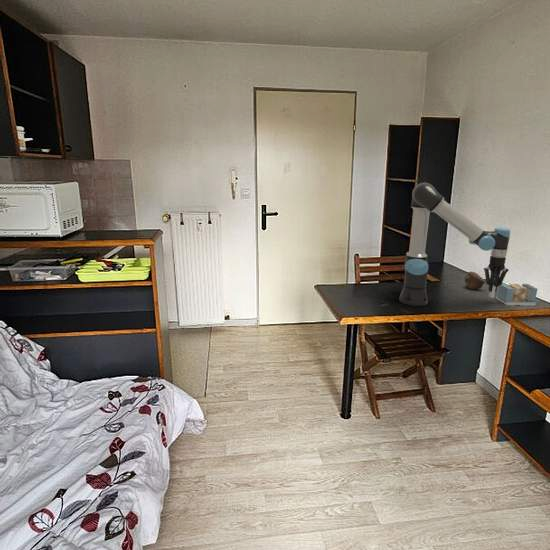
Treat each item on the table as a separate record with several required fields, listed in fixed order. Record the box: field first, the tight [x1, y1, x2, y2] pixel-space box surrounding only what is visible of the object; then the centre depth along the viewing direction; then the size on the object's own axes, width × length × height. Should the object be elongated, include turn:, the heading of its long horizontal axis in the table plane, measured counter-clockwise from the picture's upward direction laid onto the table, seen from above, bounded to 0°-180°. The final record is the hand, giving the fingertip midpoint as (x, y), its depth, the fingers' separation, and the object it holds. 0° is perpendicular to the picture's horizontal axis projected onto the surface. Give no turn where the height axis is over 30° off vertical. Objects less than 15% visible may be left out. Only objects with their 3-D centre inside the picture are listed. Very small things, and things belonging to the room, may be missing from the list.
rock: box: [464, 271, 486, 290], centre depth 248 cm, size 12×10×10 cm
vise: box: [495, 283, 538, 307], centre depth 224 cm, size 16×11×10 cm
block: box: [508, 283, 527, 302], centre depth 224 cm, size 5×8×8 cm, turn 179°
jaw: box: [496, 283, 514, 302], centre depth 224 cm, size 4×9×8 cm, turn 179°
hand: (491, 296), depth 225 cm, fingers closed
